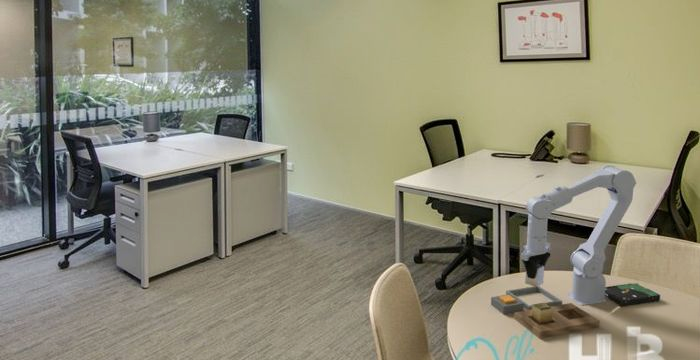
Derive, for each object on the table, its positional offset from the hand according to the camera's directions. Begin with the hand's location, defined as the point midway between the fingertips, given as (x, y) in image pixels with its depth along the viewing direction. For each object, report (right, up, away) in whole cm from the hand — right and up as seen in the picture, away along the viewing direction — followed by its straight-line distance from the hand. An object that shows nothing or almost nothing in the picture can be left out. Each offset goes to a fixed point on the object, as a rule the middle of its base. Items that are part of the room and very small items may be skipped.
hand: (534, 275), depth 162 cm
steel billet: (0, -3, +1) cm, 3 cm away
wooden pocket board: (+1, -12, -13) cm, 18 cm away
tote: (0, -9, +2) cm, 9 cm away
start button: (-10, -9, -3) cm, 14 cm away
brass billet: (-3, -12, -14) cm, 19 cm away
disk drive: (+32, -8, +3) cm, 33 cm away
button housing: (-10, -10, -3) cm, 14 cm away
